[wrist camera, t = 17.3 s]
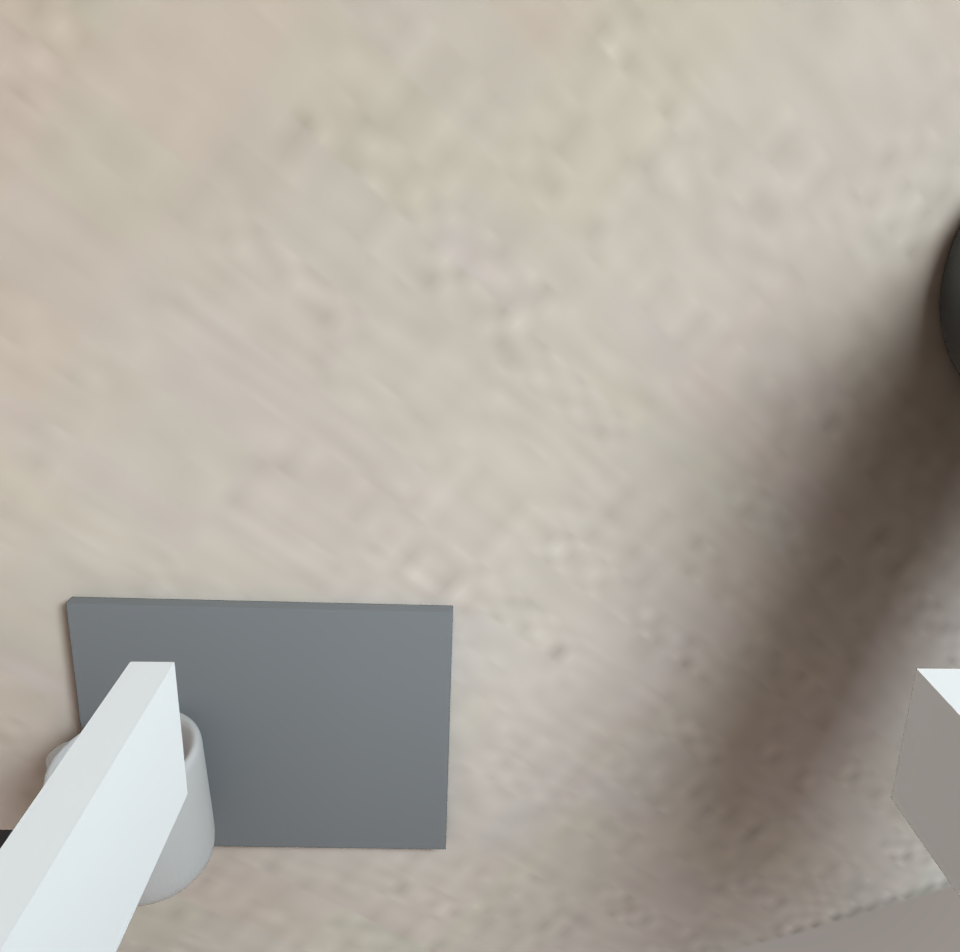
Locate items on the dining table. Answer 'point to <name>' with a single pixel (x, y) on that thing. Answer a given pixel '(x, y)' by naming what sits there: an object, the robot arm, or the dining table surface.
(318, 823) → the mat
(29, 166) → the dining table surface
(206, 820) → the cup
